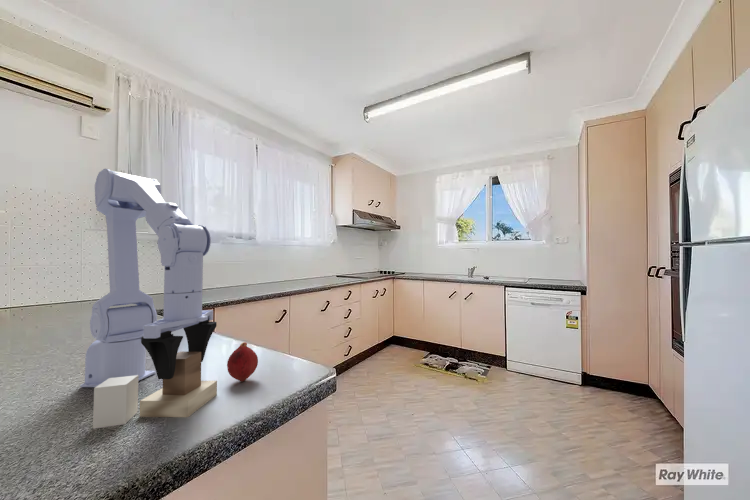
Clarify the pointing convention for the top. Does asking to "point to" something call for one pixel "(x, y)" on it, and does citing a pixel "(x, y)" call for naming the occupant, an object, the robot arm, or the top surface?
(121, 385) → the offwhite block
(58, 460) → the top surface
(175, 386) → the walnut block
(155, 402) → the beech slab
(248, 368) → the onion
